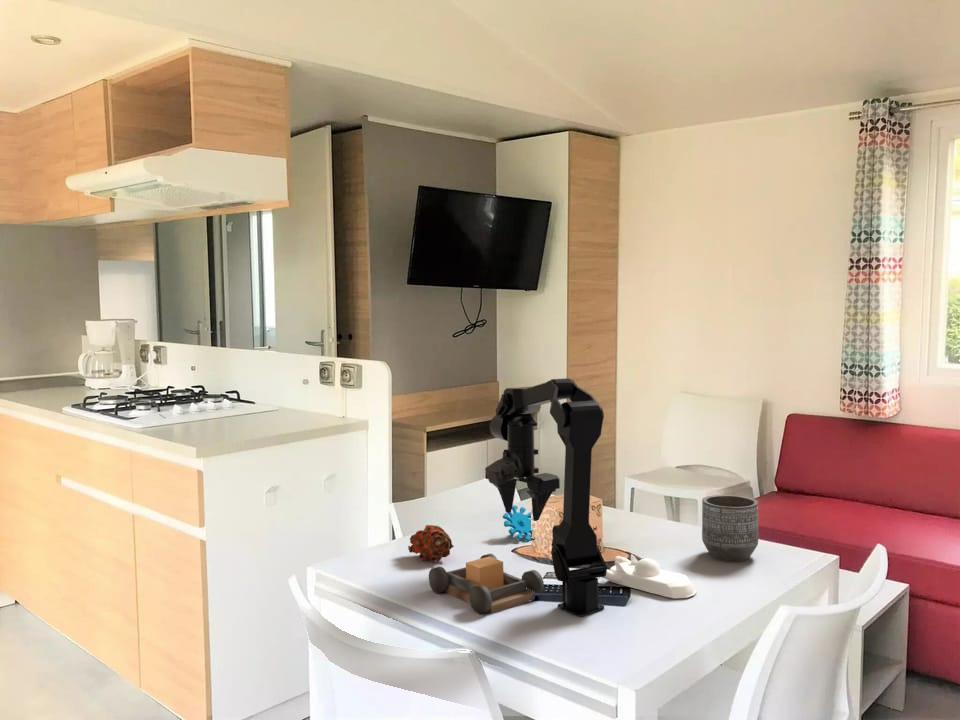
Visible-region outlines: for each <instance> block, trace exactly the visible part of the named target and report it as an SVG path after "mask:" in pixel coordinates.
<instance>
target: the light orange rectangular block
mask: <svg viewBox="0 0 960 720" xmlns="http://www.w3.org/2000/svg"><path fill="white" fill-rule="evenodd" d="M465 567H466V579H467V580H469V581H471V582H473V583H476V584H478V585H485V586H486V587H487V588H488V589H490V590H491V589H494V588H498V587H501V586H504V578H503V572H504V561H503V560H499V559H498V558H497V559H495V558H492V557H486V558H482V559H480V558H478V559H476V560H475V559H474V560H470V561H467V562H465Z"/></svg>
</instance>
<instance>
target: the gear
mask: <svg viewBox="0 0 960 720" xmlns="http://www.w3.org/2000/svg"><path fill="white" fill-rule="evenodd" d="M518 509H519V512H517V510H518ZM526 511H527V509H526V508H525V507H523V506H521V507H520V508H518V505H514V504H513V506H512V510H511V512H509V513H507V512H506V510H504V512H505V513H504V514H503V515H502V519H503V520H504V522H503V526H504V527H506V528H508V527H509V530H508V533H509V535H510V536H511V535H513V536H514V535H515V534H516V533H517V535H516V536H515V538H516V539H517V540H518V541H521V540H522V539H524V541H525V542H530V541H531V539H532V538H531V537H532V531H533V530H531V520H532V518H531V513H532V512H531V511H529V512H528V513H527V514H524V513H525V512H526ZM523 535H524V536H525V537H524V538H523Z"/></svg>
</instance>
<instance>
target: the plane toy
mask: <svg viewBox="0 0 960 720" xmlns="http://www.w3.org/2000/svg"><path fill="white" fill-rule="evenodd" d="M602 579H604V580H607V581H608V580H609V581H608V582H610V581H611V582H610V583H614V584H617V585H621V586H625V587H629V588H631V589H632V588H633V589H635V590H639V591H643V592H647V593H650V594H654V595H658V596H662V597H666V598H670V599H687V598H688V599H689V598H690V597H694V596H695V595H696V594H697V593H698V591H697V590H696V587H695V586H694V584H693V582H692V581H691V580H690V579H689V578H688V576H687V575H686V574H683V573H679V572H674V571H669V570H666V569H665V570H664V569H661V567H660V564H659V563H658V562H657V561H656V560H654V559H652V558H648V557H644V558H642V559H640V560H638V559H637V558H636V557H635V556H634V555H633V554H630V560H629V559H628V558H626V557H623V556H619V555H616V556H615V558H614V565H612V566H611V567H610V569H608V568H607V572H606V576H605V577H602Z"/></svg>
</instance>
